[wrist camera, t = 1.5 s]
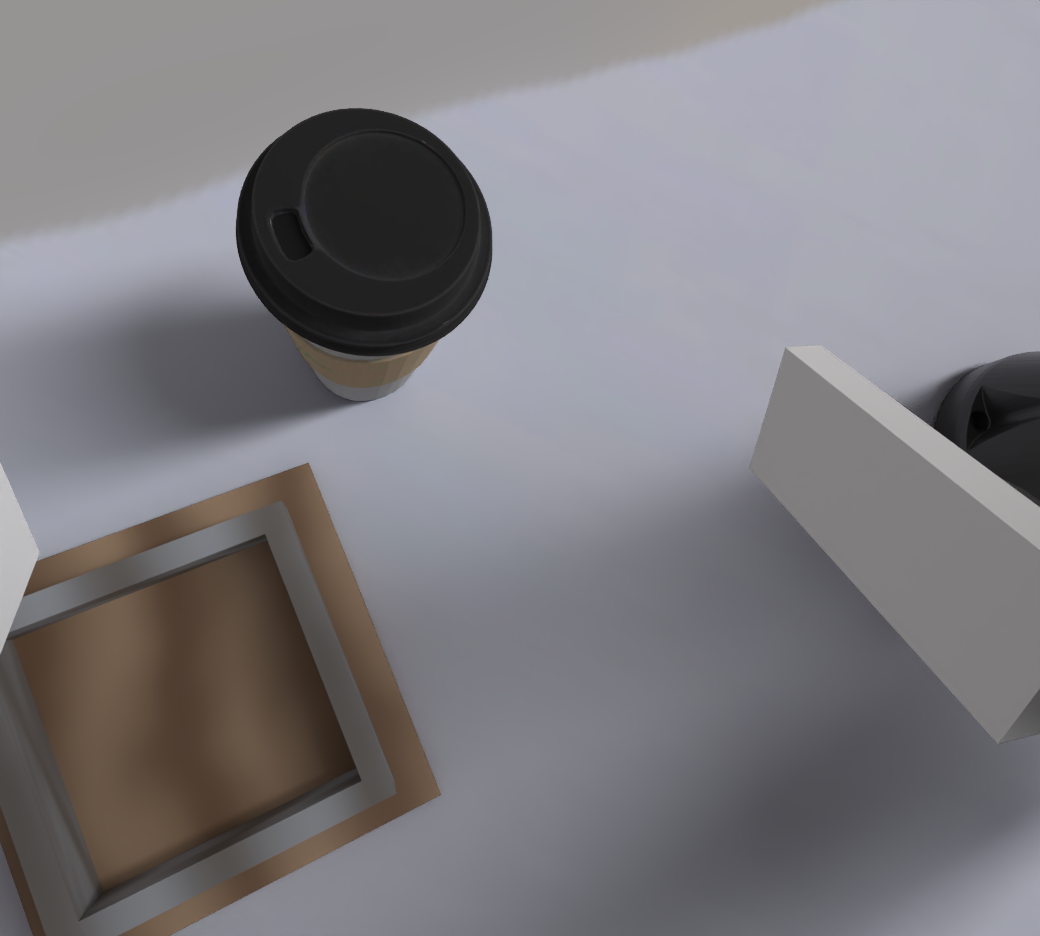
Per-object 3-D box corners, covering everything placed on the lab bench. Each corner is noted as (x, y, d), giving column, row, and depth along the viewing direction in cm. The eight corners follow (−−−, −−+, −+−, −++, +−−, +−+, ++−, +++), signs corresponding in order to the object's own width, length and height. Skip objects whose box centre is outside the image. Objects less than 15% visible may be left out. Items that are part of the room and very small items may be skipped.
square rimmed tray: (309, 465, 38) (304, 451, 34) (439, 790, 36) (448, 812, 33) (-73, 604, 33) (-126, 605, 29) (61, 985, 32) (23, 1036, 28)
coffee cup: (235, 356, 38) (163, 210, 24) (352, 236, 40) (351, 38, 26) (377, 468, 39) (390, 392, 24) (482, 343, 41) (552, 207, 27)
